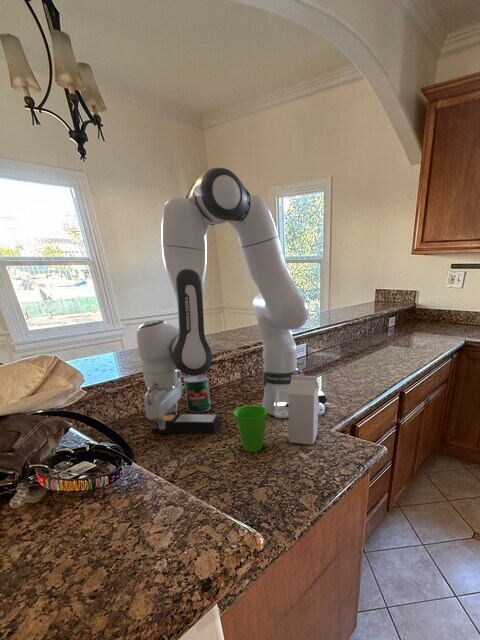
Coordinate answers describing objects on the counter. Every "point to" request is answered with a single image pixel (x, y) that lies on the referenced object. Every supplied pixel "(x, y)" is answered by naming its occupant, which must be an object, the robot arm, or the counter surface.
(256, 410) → the cup
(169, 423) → the orange topped grey block
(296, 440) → the milk carton
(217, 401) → the counter surface
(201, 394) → the canned tomato
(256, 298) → the robot arm
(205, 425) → the dark grey stepped block
